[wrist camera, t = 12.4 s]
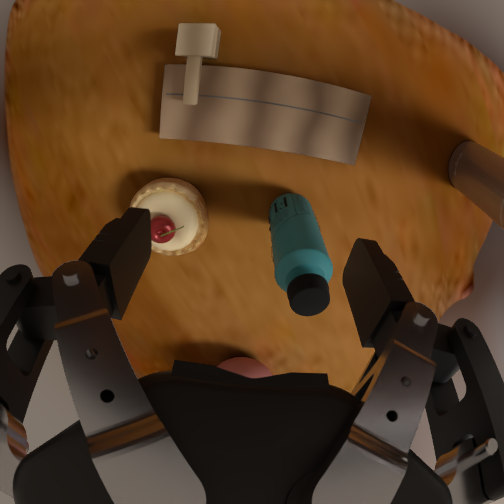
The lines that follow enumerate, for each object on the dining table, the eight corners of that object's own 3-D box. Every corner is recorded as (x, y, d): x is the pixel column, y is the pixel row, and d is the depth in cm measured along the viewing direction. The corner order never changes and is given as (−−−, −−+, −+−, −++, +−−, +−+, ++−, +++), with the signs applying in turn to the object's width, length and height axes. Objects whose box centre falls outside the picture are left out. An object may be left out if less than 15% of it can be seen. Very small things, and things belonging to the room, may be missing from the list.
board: (365, 94, 33) (371, 95, 31) (349, 159, 38) (354, 165, 36) (170, 64, 31) (164, 64, 29) (164, 134, 36) (159, 138, 34)
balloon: (182, 359, 66) (172, 414, 53) (253, 335, 60) (253, 399, 47) (219, 386, 73) (215, 437, 60) (285, 368, 67) (289, 424, 54)
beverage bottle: (283, 179, 40) (303, 265, 24) (320, 202, 42) (358, 294, 26) (259, 213, 44) (260, 312, 27) (294, 233, 45) (314, 334, 29)
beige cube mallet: (221, 31, 28) (215, 23, 23) (212, 101, 34) (204, 106, 29) (190, 30, 28) (179, 23, 23) (182, 99, 34) (170, 104, 29)
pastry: (126, 193, 42) (99, 219, 35) (186, 157, 39) (167, 177, 31) (166, 251, 48) (149, 285, 40) (226, 224, 45) (218, 257, 37)
